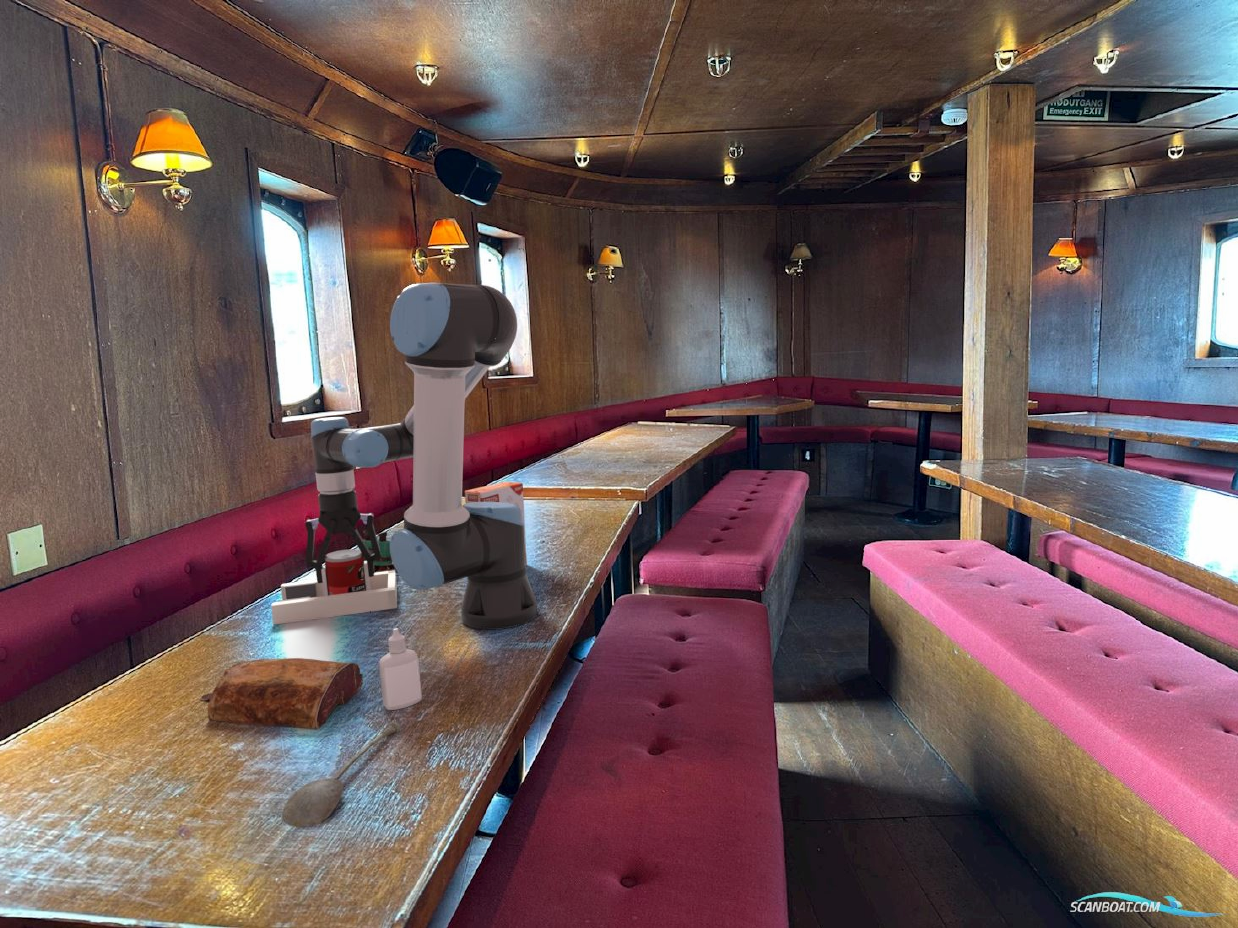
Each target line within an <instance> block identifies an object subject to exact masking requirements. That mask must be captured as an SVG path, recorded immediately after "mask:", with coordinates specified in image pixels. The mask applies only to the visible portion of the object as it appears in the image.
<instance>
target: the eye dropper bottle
mask: <svg viewBox="0 0 1238 928" xmlns="http://www.w3.org/2000/svg"><path fill="white" fill-rule="evenodd" d="M387 641H388V651H389V652H388V653H386V654H384V656H382V657H381V658H380V660H379V663H378V665H379V666H378V667H379V676H380V687H381V695H382V704H383V705H382V706H383V707H384V708H385V710H387V711H393V710H394V711H395V710H400V709H405V708H408V707H411V706H414V705H416V704H418V703H420V702H421V701H422V699H423V694H422V684H421V682H422V681H421V674H420V663H419V657H418V656H419V655H418V654H417V652H415V650H413V649H409V648H407V647H406V646H407V645H406V637H405V636H404V635H403V634H401V633H400V631H399V628H397V627H395V628H393V629H392V636H390V637H388V640H387Z"/></svg>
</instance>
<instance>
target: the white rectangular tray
mask: <svg viewBox="0 0 1238 928" xmlns="http://www.w3.org/2000/svg"><path fill="white" fill-rule="evenodd" d="M396 572H397V571H396V569H392V570H389V571H384V572H378V571H376V572H374V576H373V577H370V587H371V590H368V591H360V592H352V593H344V594H337V595H329V596H324V589H323V583H318V582H317V579H312V580H310V579H309V580H302V581H296V582H287V583H282V584H281V585H280V592H281V593H280V594H281V600H278V601H276V602H271V605H270V607H271V608H270V609H271V616H272V623H273V624H272V625H273V626H274V625H281V624H288V623H296V622H302V621H303V622H304V621H311V620H312V621H313V620H318V619H326V618H334V617H339V616H340V617H341V616H348V615H354V614H356V615H357V614H363V613H370V611H371V612H377V611H386V610H392V609H397V608H398V602H397V601H398V585H397V576H396V575H397V574H396Z"/></svg>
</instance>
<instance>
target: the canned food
mask: <svg viewBox="0 0 1238 928" xmlns="http://www.w3.org/2000/svg"><path fill="white" fill-rule="evenodd" d="M324 566H325V568H326V576H327V585H328V593H329V595H337V594H344V593H352V592H360V591H366V582H365V573H364V558H363V554H362V552H361V551H360V549H350V548H349V549H341V550H340V549H339V550H336V551H335V550H334V551H332V552H329V553H327V554H325V557H324Z"/></svg>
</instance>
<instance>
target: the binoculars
mask: <svg viewBox="0 0 1238 928" xmlns="http://www.w3.org/2000/svg"><path fill="white" fill-rule="evenodd" d="M363 536H364V539H363V541H364V543H365V544H366V546H367V548H368V549H369V551H370V553H371V554H373V553H374V551H373V548H372V544H371V541H370V537H369V534H368V530H363ZM387 536H388V532H387V531H385V532H379V533H378V534H377V537H378V539H379V540H378V539H377V540H378V543H379V547H380V550H381V558H380V559H377V560H375V561H374V562H373V563H374V572H375V570H376V569H378V570H377V572H384V571H392V570H396V569H395V567H394V564H393V562H392V558H391V554H390V540H389V539H388V540H387ZM363 558H364V561H366V559H365V557H364V556H363Z"/></svg>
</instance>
